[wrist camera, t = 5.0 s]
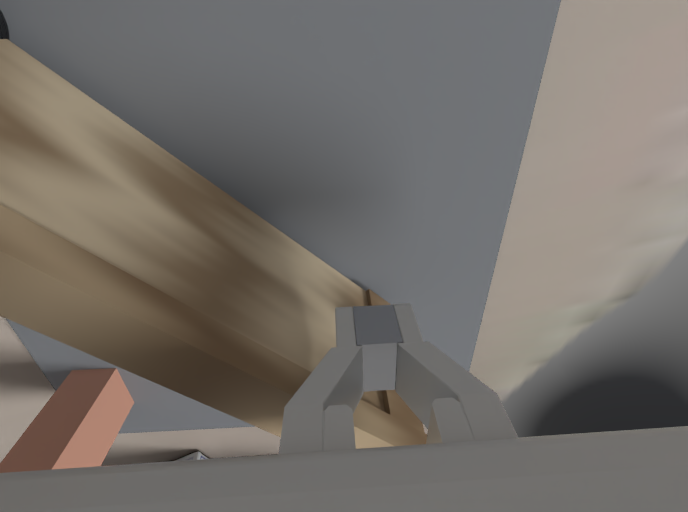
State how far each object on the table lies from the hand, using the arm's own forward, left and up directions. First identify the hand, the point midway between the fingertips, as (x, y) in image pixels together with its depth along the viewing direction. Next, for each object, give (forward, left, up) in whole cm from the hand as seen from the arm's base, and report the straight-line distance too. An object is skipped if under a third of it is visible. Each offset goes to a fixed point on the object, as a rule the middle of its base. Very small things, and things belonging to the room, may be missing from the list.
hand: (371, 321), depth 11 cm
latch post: (+9, -14, -7) cm, 19 cm away
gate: (-2, -5, -5) cm, 7 cm away
